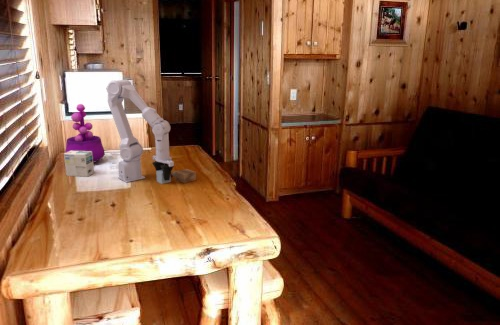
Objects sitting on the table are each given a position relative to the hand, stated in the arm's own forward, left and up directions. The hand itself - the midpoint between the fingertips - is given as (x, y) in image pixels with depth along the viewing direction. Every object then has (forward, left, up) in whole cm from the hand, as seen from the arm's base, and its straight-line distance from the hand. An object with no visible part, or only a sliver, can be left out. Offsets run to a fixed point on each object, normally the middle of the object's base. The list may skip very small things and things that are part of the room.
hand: (163, 178), depth 179 cm
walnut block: (+9, -4, -2) cm, 10 cm away
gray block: (0, 0, -2) cm, 2 cm away
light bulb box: (-24, +34, -2) cm, 42 cm away
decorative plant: (-14, +53, -2) cm, 55 cm away
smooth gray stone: (+11, +5, -2) cm, 12 cm away
